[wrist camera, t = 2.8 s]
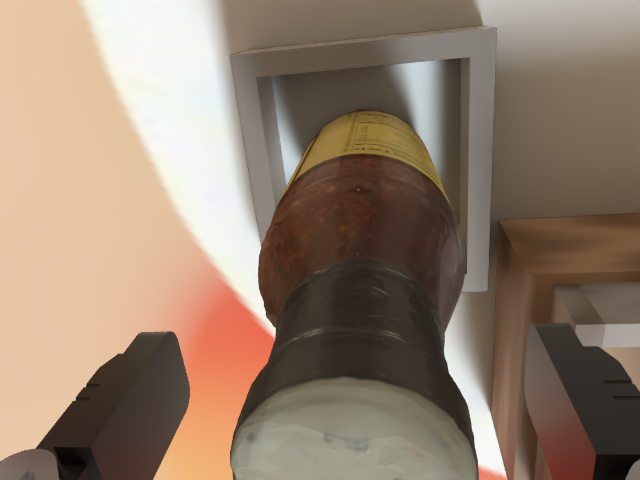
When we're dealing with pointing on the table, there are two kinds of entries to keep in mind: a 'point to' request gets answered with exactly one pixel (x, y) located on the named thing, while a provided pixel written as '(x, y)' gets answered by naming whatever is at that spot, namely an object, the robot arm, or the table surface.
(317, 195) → the sauce bottle
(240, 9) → the table surface
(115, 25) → the table surface
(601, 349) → the robot arm
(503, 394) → the walnut dock
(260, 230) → the low holder
